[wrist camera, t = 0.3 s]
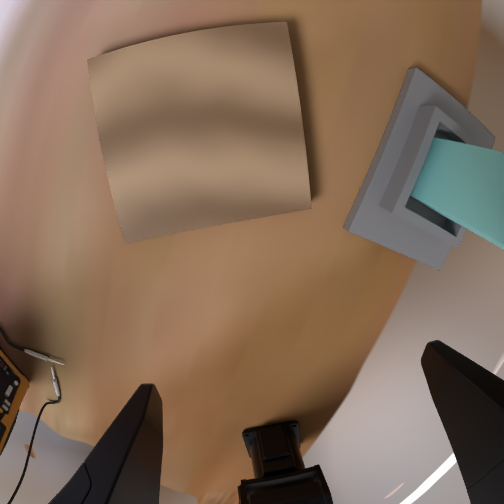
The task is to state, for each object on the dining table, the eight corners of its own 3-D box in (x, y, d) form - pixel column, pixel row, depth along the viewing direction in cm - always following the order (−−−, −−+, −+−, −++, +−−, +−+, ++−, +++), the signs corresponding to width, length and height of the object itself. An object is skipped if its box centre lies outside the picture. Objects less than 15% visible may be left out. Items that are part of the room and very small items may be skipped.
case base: (433, 266, 26) (451, 280, 24) (343, 226, 23) (359, 241, 21) (488, 136, 22) (510, 140, 19) (408, 68, 19) (431, 64, 16)
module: (440, 214, 23) (536, 270, 13) (404, 193, 22) (510, 248, 12) (461, 162, 21) (564, 199, 11) (428, 136, 20) (541, 163, 10)
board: (306, 204, 22) (311, 208, 21) (128, 237, 22) (125, 243, 21) (282, 26, 17) (286, 21, 16) (93, 62, 16) (87, 59, 15)
